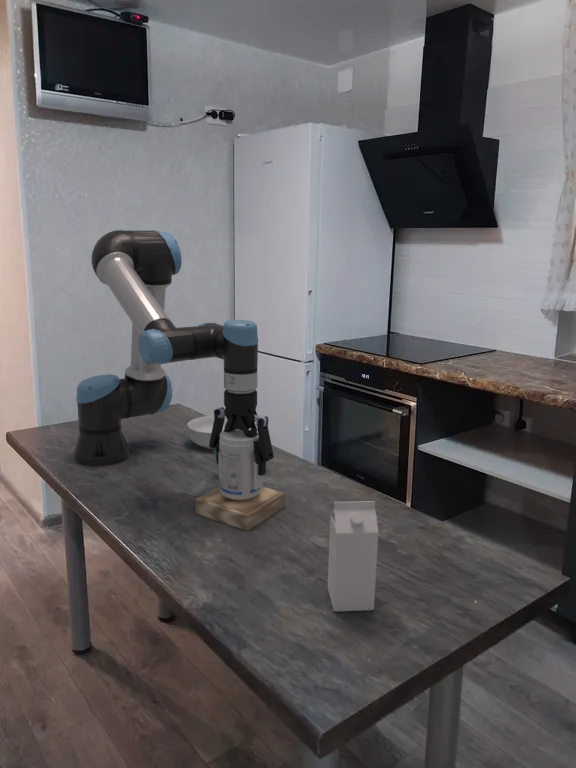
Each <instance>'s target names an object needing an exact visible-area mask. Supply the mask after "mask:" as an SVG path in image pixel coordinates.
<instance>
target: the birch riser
mask: <svg viewBox="0 0 576 768" xmlns="http://www.w3.org/2000/svg"><path fill="white" fill-rule="evenodd" d="M285 496H286V493H285V492H282V491H279V490H275V489H272V488H268V487H265V486H262V487H261V491H260V493H259V494H258V495H257V496H255V497H252V498H250V499H245V500H235V499H230V498H227V497H225V496H224V495H223V494H222V493H221V490H220V486H218V487H217V488H214V489H213V490H211V491H209V492H207V493H205V494H203V495H202V496H199V497H198V498H197V497H196V499H194V501H195V503H194V504H195V505H194V507H195V508H194V509H195V514H196V515H198V516H202V517H205V518H208V519H211V520H213V521H217V522H220V523H223V524H226V525H229V526H232V527H235V528H238V529H241V530H244V531H247V532H248V531H250V530H251V529H252V528H254V527H256V526H258V525H259V524H260V523H262V522H263V521H265V520H266V519H268V518H270V517H272V516H273V515H274V514H276V513H277V512H278V511H280V510H282V509H284V508H285V503H286V499H285V498H286V497H285Z"/></svg>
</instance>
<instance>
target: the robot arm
mask: <svg viewBox="0 0 576 768" xmlns="http://www.w3.org/2000/svg"><path fill="white" fill-rule="evenodd" d="M91 265H92V269H93V272H94V274H95V276H96V277H97V278H98V280H99V281H100V282H101V284H104V285H106V286H107V287H109V289H110V291H111V292H112V294H113V296H114V297H115V299H116V300H117V302H118V304H119V305H120V306H121V308H122V310H123V311H124V313H125V314H126V316H127V317H128V318H129V320H130V322H131V323H132V326H131V344H130V345H131V347H130V348H131V351H130V364H129V366H128V367H126V368H125V370H124V378H120V377H119V376H118V375H116V374H108V373H107V374H101V375H100V374H99V375H94V376H91V377H88V378H85V379H83V380H82V381H80V382H79V383H78V384H77V386H76V399H75V400H76V403H77V404H76V405H77V416H78V418H77V419H78V432H79V433H78V437H77V441H76V445H75V449H74V452H73V455H74V461H75V462H76V463H77V464H79V465H83V466H91V467H92V466H93V467H97V466H98V467H99V466H100V467H101V466H103V467H104V466H109V465H115V464H118V463H120V462H122V461H125V460H127V459H128V458H129V456H130V449H129V445H128V444H127V440H126V437H125V435H124V433H123V429H122V420H125V419H126V420H127V419H130V418H137V417H142V416H148V415H149V416H151V415H155V414H157V413H162V412H164V411H165V410H167V409H168V408H169V407H170V404H171V403H172V399H173V398H172V397H173V387H172V381H171V379H170V377H169V376H168V375H167V374H166V371H165V369H164V368H163V367H162V365H164V364H170V363H171V364H172V363H177V362H184V361H194V360H202V359H210V358H216V359H221V360H223V389H225V390H224V391H223V405H224V407H225V408H224V407H223V406H221V407H218V408H216V409H214V410H213V416H214V418H215V419H214V424H213V428H212V433H211V438H210V443H209V446H210V448H214V449H215V451H216V458H215V461H216V465H218V480H220V452H219V439H220V433H221V432H222V430H223V425H224V420H225V416H226V418H227V420H228V421H227V423H226V425H225V427H224V428H225V429H224V431H223V432H231V431H233V430H235V429H239V430H241V431H243V432H244V434H245V435H246V436H247V437H249V438H253V437H256V436H258V435H259V439H258V440H257V441H255V442H254V441H253V444H254V455H255V457H256V460H257V461H255V462H254V489H256V490H257V489H258V488H260V487H264V475H266V473H267V462H269V461H270V460H273V459H274V456H275V455H274V450H273V446H272V442H271V441H272V440H271V436H270V432H269V417H268V416H267V415H266V416H264V417H262V416H260V415H258V413H257V406H258V391H257V389H258V378H259V377H258V362H259V361H258V360H259V359H258V358H259V357H258V354H259V351H258V350H259V337H258V336H259V335H258V325H257V323H256V322H254V321H252V320H248V319H247V320H246V319H231V320H227V321H225V322H224V323H223V325H222V324H220V323H217V322H203V323H200V324H199V325H197V326H184V327H183V326H182V327H176V326H175V324H174V323H173V322H172V321H171V319H170V317H169V316H168V314H167V313H166V312H165V304H166V303H165V301H166V289H167V288H168V287H169V286H171V284H172V279H173V276H176V275H177V274H178V273H180V270H181V268H182V252H181V249H180V246H179V243H178V241H177V239H176V238H175V236H173V234H171V233H170V232H167V231H161V230H155V229H154V230H124V229H117V230H113V231H109V232H107V233H105V234H103V235H102V236H101V237H100V238H99V239H98V240H97V241H96V243H95V244H94V246H93V249H92V252H91ZM250 428H251V430H248V429H250ZM257 431H258V434H257ZM214 449H213V450H214ZM215 451H214V452H215Z"/></svg>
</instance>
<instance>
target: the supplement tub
mask: <svg viewBox="0 0 576 768" xmlns="http://www.w3.org/2000/svg"><path fill="white" fill-rule="evenodd" d="M248 430H251V428H250V429H248ZM257 434H258V430H257ZM258 439H259V435H258V436H256V437H253V438H249V437H247V436H246V435H245V434H244V432H243V431H241V430H239V429H235V430H233V431H231V432H223V431H222V432H221V433H220V439H219V452H220V479H219V482H220V483H219V484H220V486H219V487H220V490H221V493H222V494H223V495H224V496H225V497H227V498H230V499H235V500H245V499H250V498H252V497H255V496H257V495H258V494H259V493H260V491H261V487H260V488H258V489H257V490H256V489H254V462H255V461H257V460H256V457H255V455H254V444H253V441H254V442H255V441H257V440H258Z"/></svg>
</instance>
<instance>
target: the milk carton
mask: <svg viewBox="0 0 576 768" xmlns="http://www.w3.org/2000/svg"><path fill="white" fill-rule="evenodd" d="M376 512H377V511H376V501H375V500H369V501H368V500H367V501H366V500H364V501H360V500H359V501H334V502H333V509H332V510H331V512H330V515H329V516H330V518H329V520H330V521H329V545H328V546H329V547H328V565H327V566H328V567H327V568H328V574H327V591H328V594H329V599H330V603H331V606H332V611H333V612H354V611H355V612H357V611H360V612H361V611H362V612H363V611H373V610H375V597H376V596H375V595H376V582H377V581H376V580H377V579H376V578H377V562H378V544H379V527H378V525H379V524H378V519H377V513H376Z"/></svg>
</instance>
